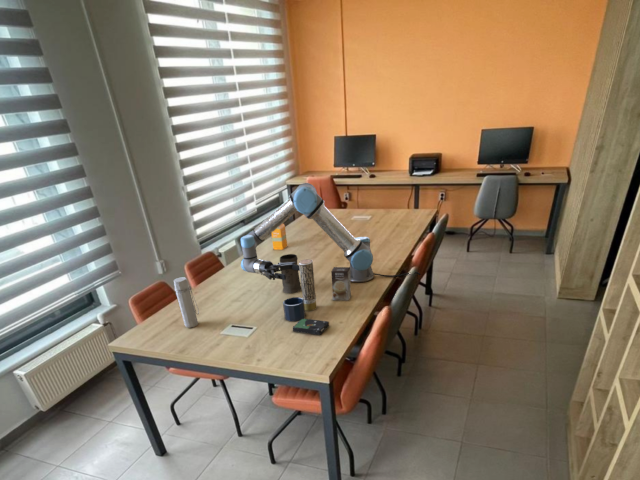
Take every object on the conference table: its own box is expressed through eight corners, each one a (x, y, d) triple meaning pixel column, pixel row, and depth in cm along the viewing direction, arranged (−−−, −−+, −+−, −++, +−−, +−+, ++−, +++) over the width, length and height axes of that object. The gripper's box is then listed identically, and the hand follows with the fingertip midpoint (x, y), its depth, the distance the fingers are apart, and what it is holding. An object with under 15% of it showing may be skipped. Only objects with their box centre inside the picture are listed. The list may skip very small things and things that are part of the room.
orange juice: (273, 249, 332) (269, 221, 320) (278, 245, 338) (274, 217, 327) (283, 249, 329) (279, 221, 318) (287, 245, 336) (284, 217, 324)
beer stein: (299, 293, 256) (296, 257, 246) (281, 294, 259) (277, 258, 248) (304, 285, 269) (301, 250, 258) (286, 286, 271) (283, 252, 261)
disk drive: (329, 326, 218) (302, 322, 225) (329, 321, 216) (301, 317, 223) (320, 336, 211) (292, 332, 217) (319, 330, 209) (291, 326, 216)
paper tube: (303, 307, 240) (298, 260, 226) (315, 305, 240) (311, 258, 226) (304, 312, 235) (299, 264, 220) (317, 310, 235) (313, 262, 220)
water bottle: (187, 329, 235) (174, 283, 220) (183, 324, 240) (170, 279, 226) (203, 324, 237) (192, 278, 223) (199, 319, 243) (187, 274, 229)
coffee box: (332, 300, 243) (330, 271, 234) (335, 295, 248) (333, 266, 238) (348, 300, 240) (347, 271, 231) (351, 295, 245) (350, 266, 235)
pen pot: (307, 312, 234) (305, 297, 229) (303, 321, 226) (301, 305, 221) (287, 312, 237) (285, 297, 232) (283, 321, 229) (280, 305, 224)
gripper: (280, 266, 254) (309, 271, 242) (249, 282, 240) (278, 288, 227) (278, 253, 250) (308, 257, 237) (246, 268, 236) (276, 273, 223)
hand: (293, 272), depth 232 cm, fingers open, 13 cm apart
